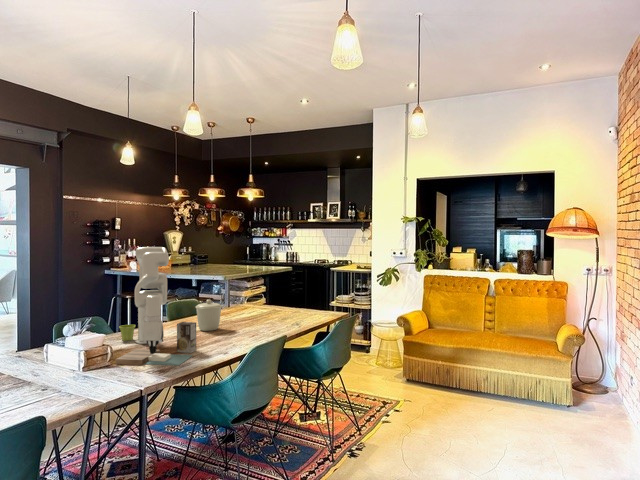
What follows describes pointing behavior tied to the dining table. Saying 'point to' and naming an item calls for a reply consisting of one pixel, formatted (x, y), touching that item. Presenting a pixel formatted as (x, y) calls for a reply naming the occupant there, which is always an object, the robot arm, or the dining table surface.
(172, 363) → the teal mat
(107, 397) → the dining table surface
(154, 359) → the tile
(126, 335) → the plant pot
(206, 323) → the canister
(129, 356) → the walnut deck
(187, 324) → the coffee box
